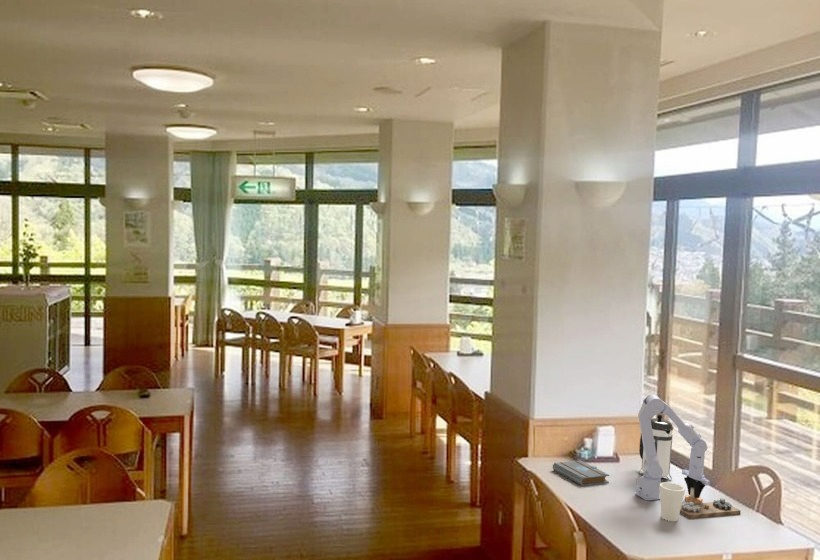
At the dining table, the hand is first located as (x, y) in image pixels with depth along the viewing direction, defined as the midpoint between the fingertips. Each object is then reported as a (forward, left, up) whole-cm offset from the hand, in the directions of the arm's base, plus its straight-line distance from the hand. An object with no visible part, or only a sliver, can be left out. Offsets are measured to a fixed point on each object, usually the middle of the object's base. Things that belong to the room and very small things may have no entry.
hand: (693, 496), depth 298 cm
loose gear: (0, 0, -2) cm, 2 cm away
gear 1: (-11, -11, -1) cm, 16 cm away
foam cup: (-24, -14, -2) cm, 28 cm away
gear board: (-3, -11, -2) cm, 12 cm away
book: (-33, +36, -3) cm, 49 cm away
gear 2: (+5, -11, -1) cm, 12 cm away
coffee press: (+3, +31, -2) cm, 31 cm away
